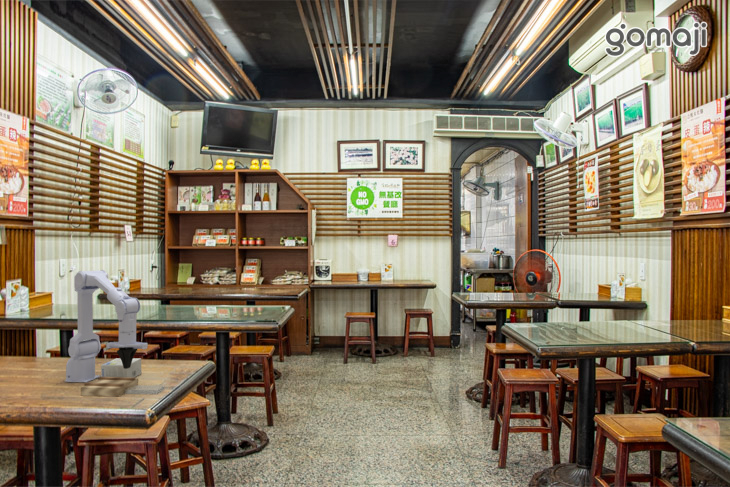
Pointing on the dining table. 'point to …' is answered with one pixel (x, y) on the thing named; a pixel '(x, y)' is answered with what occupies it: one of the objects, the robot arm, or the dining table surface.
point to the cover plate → (144, 389)
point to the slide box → (108, 386)
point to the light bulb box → (121, 368)
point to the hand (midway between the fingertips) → (127, 367)
